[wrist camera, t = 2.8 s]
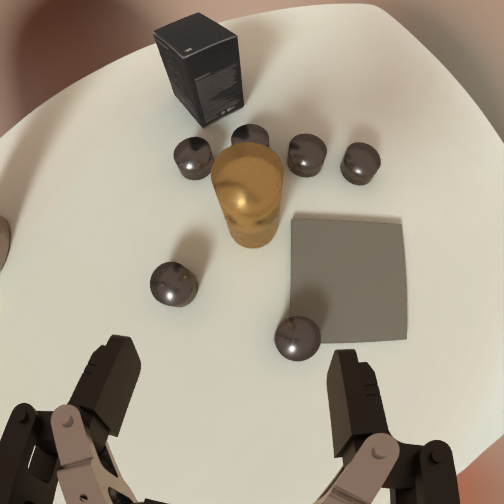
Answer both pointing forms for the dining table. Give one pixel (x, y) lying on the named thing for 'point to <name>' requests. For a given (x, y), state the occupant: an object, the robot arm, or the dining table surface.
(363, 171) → the spacers
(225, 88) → the box
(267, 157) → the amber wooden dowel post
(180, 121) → the dining table surface
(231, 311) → the dining table surface
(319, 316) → the pad
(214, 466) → the dining table surface
